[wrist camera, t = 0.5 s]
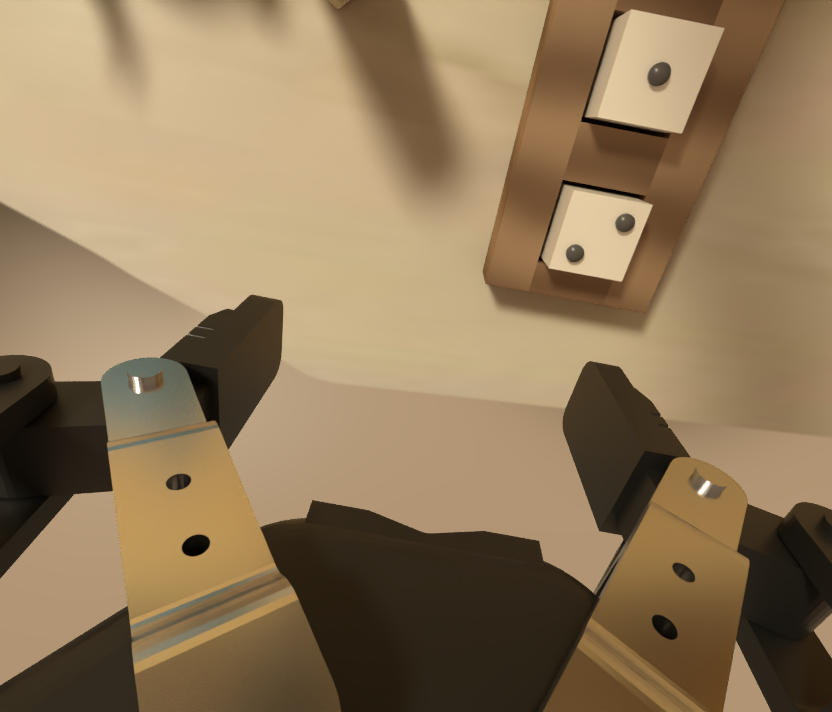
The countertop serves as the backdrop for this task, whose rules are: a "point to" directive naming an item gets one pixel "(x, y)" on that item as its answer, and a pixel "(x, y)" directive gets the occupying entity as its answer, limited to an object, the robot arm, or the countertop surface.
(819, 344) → the countertop surface
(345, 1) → the box
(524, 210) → the button panel
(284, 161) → the countertop surface
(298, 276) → the countertop surface
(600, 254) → the button two
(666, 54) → the button one
